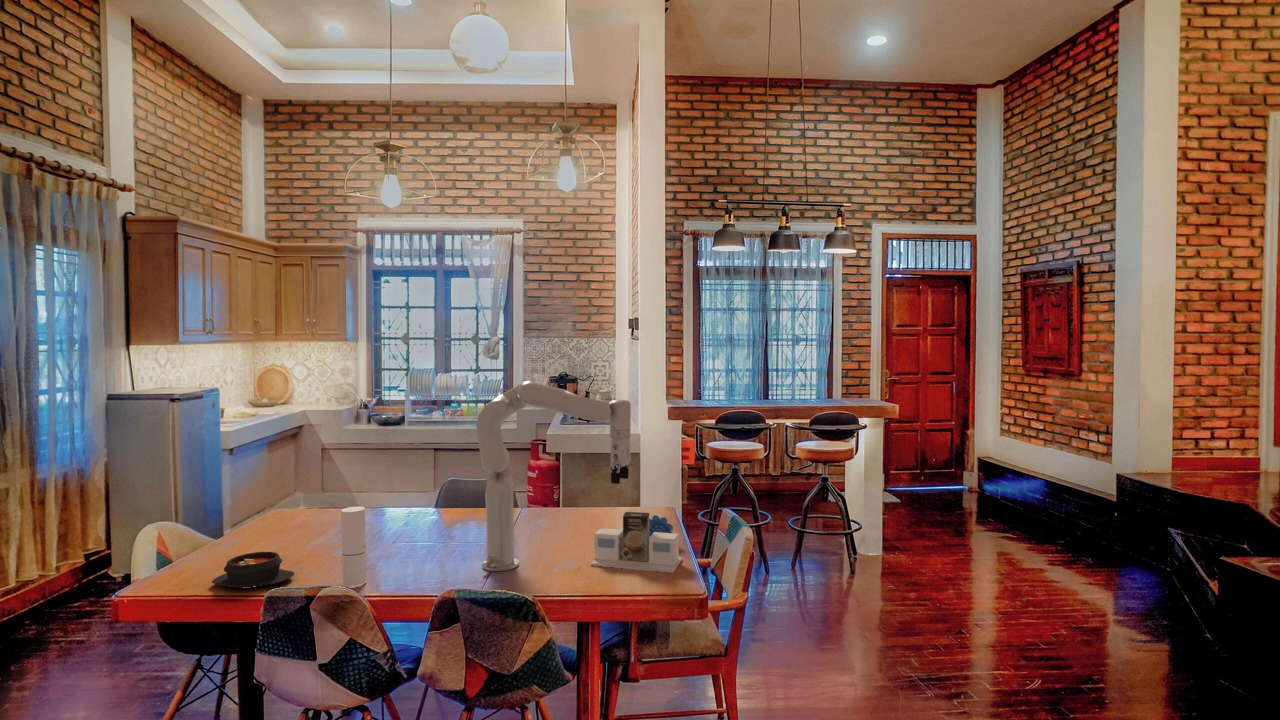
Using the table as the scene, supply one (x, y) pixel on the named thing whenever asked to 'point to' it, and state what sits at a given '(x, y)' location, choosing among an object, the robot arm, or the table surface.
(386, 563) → the table surface
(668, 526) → the grapes
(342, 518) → the cylindrical container
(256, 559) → the casserole
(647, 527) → the coffee box
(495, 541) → the robot arm
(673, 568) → the rail board
